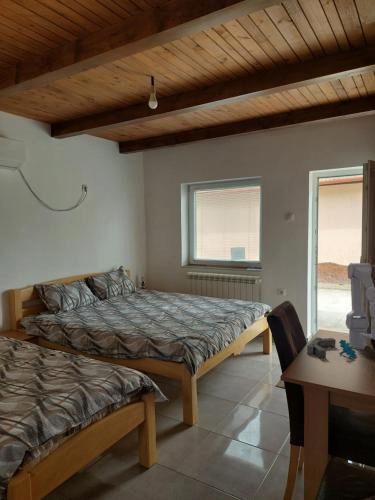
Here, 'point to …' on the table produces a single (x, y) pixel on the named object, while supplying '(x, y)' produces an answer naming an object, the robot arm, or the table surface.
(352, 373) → the table surface
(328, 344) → the v block
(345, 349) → the teal lobed flat part
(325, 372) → the table surface
